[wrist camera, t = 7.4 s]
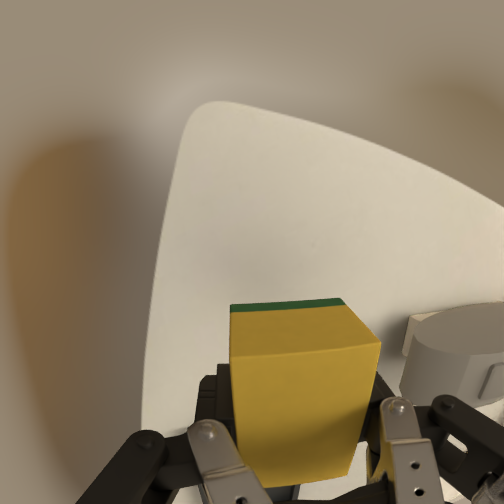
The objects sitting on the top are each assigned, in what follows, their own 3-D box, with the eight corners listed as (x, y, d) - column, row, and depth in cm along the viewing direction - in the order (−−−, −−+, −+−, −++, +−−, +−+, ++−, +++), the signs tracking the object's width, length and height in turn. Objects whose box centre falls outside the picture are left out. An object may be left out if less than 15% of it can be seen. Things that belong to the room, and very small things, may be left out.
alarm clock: (375, 363, 29) (432, 440, 16) (385, 312, 27) (460, 379, 15) (501, 333, 30) (557, 370, 18) (512, 293, 29) (574, 325, 16)
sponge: (325, 419, 13) (347, 475, 9) (238, 428, 13) (241, 489, 9) (340, 296, 12) (382, 342, 8) (230, 303, 12) (228, 357, 8)
